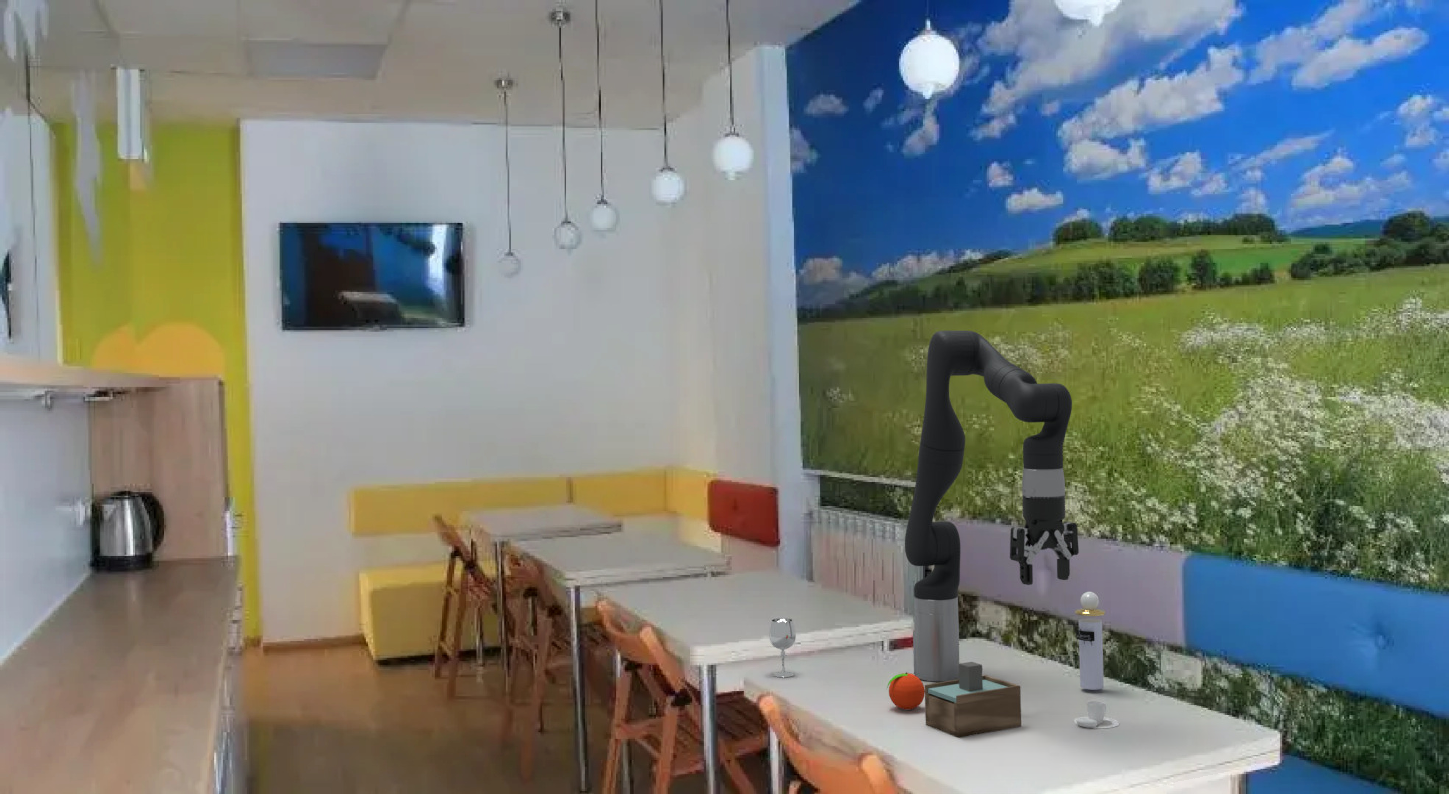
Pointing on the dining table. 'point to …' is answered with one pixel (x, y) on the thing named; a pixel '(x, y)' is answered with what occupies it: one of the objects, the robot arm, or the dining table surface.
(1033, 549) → the robot arm
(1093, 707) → the teacup and saucer
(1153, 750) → the dining table surface
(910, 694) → the clementine
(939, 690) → the cover plate
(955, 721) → the box
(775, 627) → the wineglass
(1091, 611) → the perfume bottle
